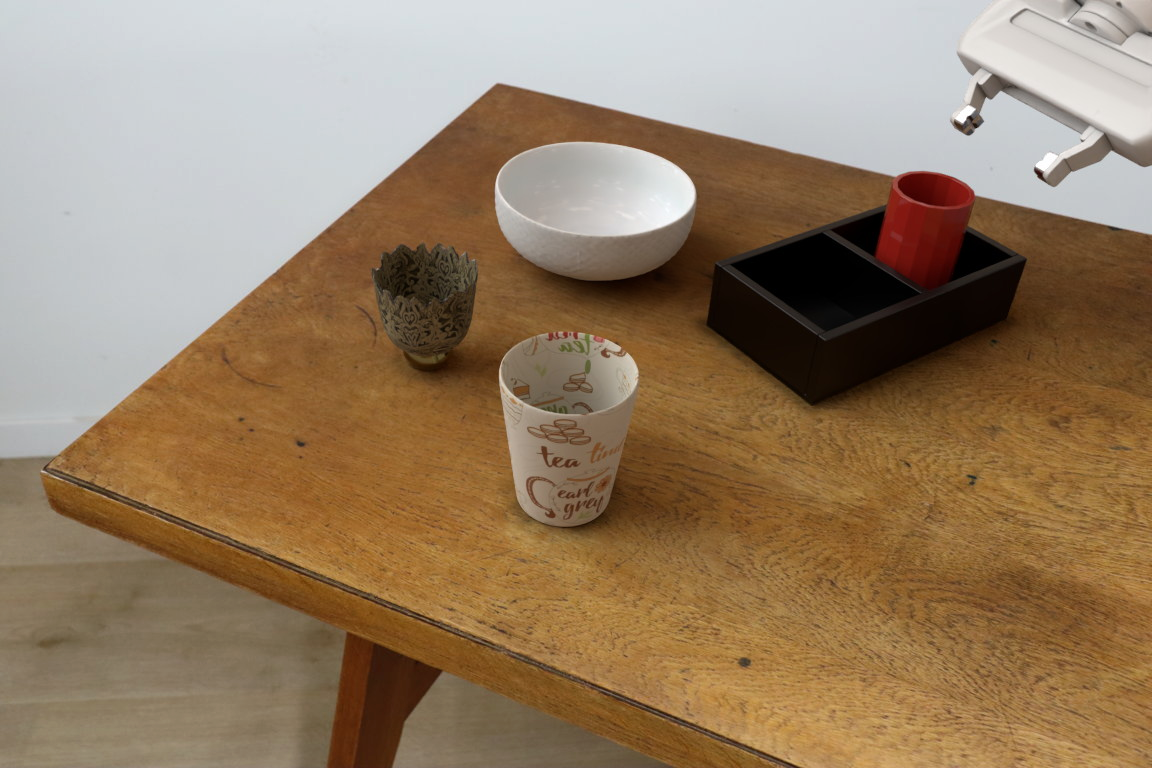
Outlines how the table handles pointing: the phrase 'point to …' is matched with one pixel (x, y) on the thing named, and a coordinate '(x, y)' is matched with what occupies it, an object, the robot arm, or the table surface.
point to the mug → (566, 422)
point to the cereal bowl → (594, 209)
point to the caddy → (852, 304)
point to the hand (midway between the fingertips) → (998, 152)
